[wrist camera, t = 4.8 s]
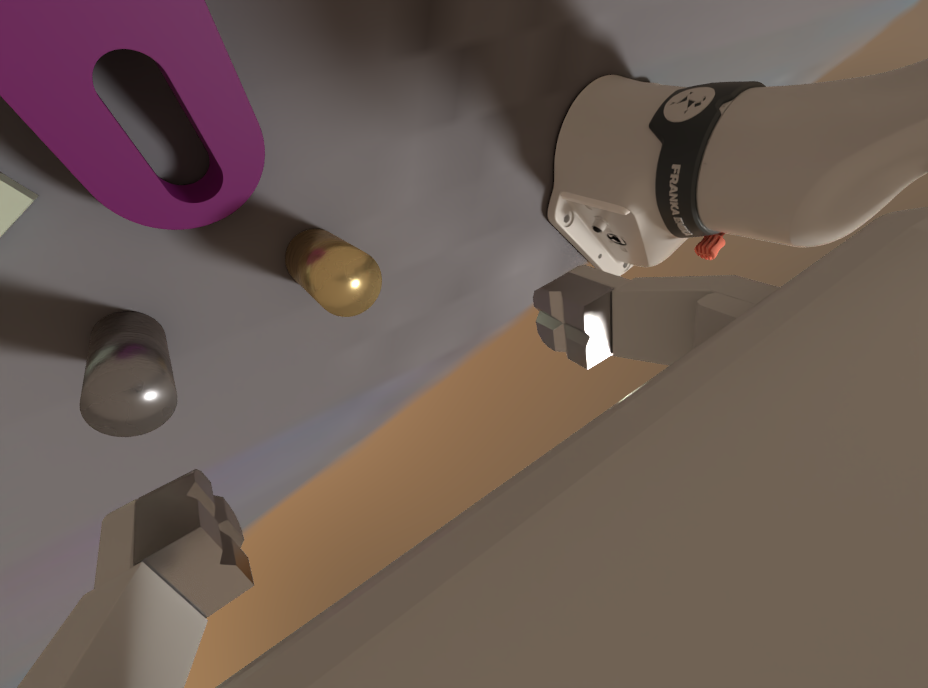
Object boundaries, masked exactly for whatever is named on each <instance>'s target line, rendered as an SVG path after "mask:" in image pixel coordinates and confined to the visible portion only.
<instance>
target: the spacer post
mask: <svg viewBox="0 0 928 688" xmlns="http://www.w3.org/2000/svg"><path fill="white" fill-rule="evenodd" d="M176 405H177V392H176V387H175V382H174V377H173V371H172V366H171V361H170V356H169V351H168V345H167V340H166V335H165V332H164V330H163V328H162V326H161V325H160V324H159V323H158V322H157V321H156V320H155V319H153V318H152V317H150V316H148V315H146V314H143V313H139V312H133V311H123V312H117V313H113V314H111V315H108V316H106V317H104V318H103V319H101V320H100V321H99V322H98V323H97V324H96V325H95V327H94V328H93V330H92V333H91V337H90V344H89V350H88V356H87V362H86V368H85V374H84V380H83V386H82V393H81V399H80V411H81V414H82V417H83V418H84V420H85V421H86V422H87V423H88V424H89V426H91V427H92V428H93V429H95V430H97V431H99V432H101V433H103V434H107V435H110V436H117V437H131V436H138V435H142V434H145V433H148V432H151V431H153V430H155V429H157V428H158V427H160V426H161V425H163V424H164V423H165V422H166V421H167V420H168V419H169V418H170V417H171V416H172V414H173V412H174V411H175V408H176Z"/></svg>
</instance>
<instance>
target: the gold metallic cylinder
mask: <svg viewBox="0 0 928 688" xmlns="http://www.w3.org/2000/svg"><path fill="white" fill-rule="evenodd" d="M285 262H286V267H287V270H288V272H289V273H290V275H291V276H292V277H293V279H294V280H295V281H296V282H297V283H298V284H300V285H301V286H302V287H303V288H304V289H305V290H306V291H307V292H308V293H309V294H310V295H311V296H312V297H313V298H314V299H315V300H316V301H317V302H318V303H319V304H320V305H321V306H322V307H323V308H324V309H326V310H327V311H328V312H330V313H332V314H334V315H337V316H342V317H350V316H355V315H358V314H360V313H362V312H364V311H366V310H367V309H368V308H369V307H371V306H372V304H373V303H374V302H375V301H376V299H377V297H378V295H379V293H380V290H381V285H382V276H381V271H380V269H379V266H378V264H377V263H376V261H375V260H374V259H373V258H372V257H371V256H370V255H368V254H367V253H365V252H363V251H361V250H360V249H358V248H356V247H354V246H353V245H351V244H349V243H347V242H346V241H344V240H342V239H340V238H339V237H337V236H335V235H333V234H331V233H330V232H328V231H325V230H322V229H309V230H305V231H303V232H301V233H299V234H298V235H296V236H295V237H294V238H293V239H292V241H291V242H290V243H289V245H288V247H287V250H286V255H285Z"/></svg>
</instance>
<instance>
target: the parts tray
mask: <svg viewBox="0 0 928 688" xmlns="http://www.w3.org/2000/svg"><path fill="white" fill-rule="evenodd" d="M38 196H39V195H37V194H35V193H34V192H32V191H30V190H29V189H27V188H25V187H24V186H22V185H21V184H19V183H17V182H16V181H14V180H12V179H11V178H9V177H7V176H6V175H4V174H3V173H1V172H0V237H1V236H2V235H3V234H4V233H5V232H6V231H7V230H8V229H9V227H10V226H11V225H12V224H13V223H14V222H15V221H16V220H17V219H18V218H19V217H20V216H21V215H22V213H23V212H24V211H25V210H26V209H27V208H28V207H29V206H30V205H31V204H32V203H33V202H34V200H35V199H36V198H37V197H38Z"/></svg>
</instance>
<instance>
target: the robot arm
mask: <svg viewBox="0 0 928 688" xmlns="http://www.w3.org/2000/svg"><path fill="white" fill-rule="evenodd" d="M926 173H928V59H925V60H923V61H920V62H917V63H914V64H912V65H908V66H905V67H902V68H899V69H896V70H892V71H888V72H884V73H880V74H876V75H870V76H865V77H858V78H851V79H844V80H837V81H830V82H822V83H812V84H801V85H789V86H773V87H766V86H765V85H763V84H762V83H760V82H754V81H749V82H718V83H709V84H703V85H697V86H692V87H679V86H669V85H660V84H658V83H646V82H641V81H636V80H632V79H628V78H625V77H622V76H619V75H606V76H603V77H600V78H598V79H596V80H595V81H593V82H592V83H590V84H589V85H588V86H587V87H586V88H585V89H584V90H583V91H582V92H581V93H580V94H579V95H578V97H577V98H576V99H575V101H574V102H573V104H572V105H571V107H570V109H569V111H568V113H567V115H566V117H565V119H564V122H563V124H562V127H561V130H560V133H559V137H558V141H557V146H556V152H555V163H554V188H553V192H552V195H551V199H550V203H549V207H548V219H549V221H550V223H551V224H552V225H553V226H554V227H555V228H556V229H557V230H558V231H559V232H560V233H561V234H562V235H563V236H564V237H565V238H566V239H567V240H568V241H569V242H570V243H571V244H572V245H573V246H574V247H575V248H576V249H577V250H578V251H579V252H580V253H581V254H582V255H583V256H584V257H585V258H586V259H587V260H588V261H589V262H590V263H591V264H592V265H593V266H594V267H595V268H596V269H595V268H592V267H589V266H586V265H581V266H577V267H576V268H574V269H572V270H570V271H569V272H567V273H565V274H564V275H562V276H561V277H559V278H557V279H555V280H553V281H552V282H550V283H548V284H546V285H544V286H542V287H541V288H539V289H537V290H535V291H534V295H533V302H534V307H535V308H536V309H538V310H539V314H538V317H537V320H536V324H537V330H538V333H539V335H540V337H541V339H542V341H543V342H544V343H545V344H546V345H547V346H548V347H549V348H551V349H552V350H554V351H559V352H566V353H567V357H568V359H570V360H572V361H573V362H575V363H577V364H579V365H580V366H582V367H584V368H586V369H589V368H591V367H592V366H594V365H596V364H597V363H599V362H601V361H602V360H604V359H606V358H607V357H609V356H611V355H612V354H613V356H617V357H623V358H628V359H634V360H640V361H646V362H652V363H657V364H663V365H669V366H668V367H667V368H666V369H664V370H663V371H661V372H660V373H659V374H657V375H656V376H654V377H653V378H651V379H650V380H649V381H647V382H646V383H644V384H643V385H642V386H640V387H639V388H637V389H636V390H635V391H633V392H632V393H631V394H629V395H628V396H626V397H625V398H623V399H622V400H620V401H619V402H618V403H616V404H615V405H613V406H612V407H611V408H610V409H608V410H607V411H605V412H604V413H602V414H601V415H599V416H598V417H597V418H595V419H594V420H592V421H591V422H589V423H588V424H587V425H585V426H584V427H582V428H581V429H580V430H578V431H577V432H575V433H574V434H572V435H571V436H570V437H568V438H567V439H566V440H564V441H563V442H561V443H560V444H558V445H557V446H556V447H554V448H553V449H551V450H550V451H548V452H547V453H546V454H544V455H543V456H542V457H540V458H539V459H537V460H536V461H534V462H533V463H531V464H530V465H529V466H527V467H526V468H524V469H523V470H522V471H520V472H519V473H517V474H516V475H515V476H513V477H512V478H511V479H509V480H507V481H506V482H505V483H503V484H502V485H501V486H499V487H498V488H496V489H495V490H493V491H492V492H491V493H489V494H488V495H486V496H485V497H484V498H482V499H481V500H479V501H478V502H476V503H475V504H474V505H472V506H471V507H469V508H468V509H467V510H465V511H464V512H463V513H461V514H460V515H458V516H457V517H455V518H454V519H453V520H451V521H450V522H448V523H447V524H445V525H444V526H443V527H441V528H440V529H439V530H437V531H436V532H434V533H433V534H432V535H430V536H429V537H427V538H426V539H424V540H423V541H422V542H420V543H419V544H417V545H416V546H415V547H413V548H412V549H410V550H409V551H408V552H406V553H405V554H404V555H402V556H401V557H399V558H398V559H396V560H395V561H393V562H392V563H391V564H389V565H388V566H386V567H385V568H384V569H382V570H381V571H379V572H378V573H377V574H375V575H374V576H372V577H371V578H370V579H368V580H367V581H365V582H364V583H363V584H361V585H360V586H358V587H357V588H356V589H354V590H353V591H351V592H350V593H349V594H347V595H346V596H344V597H343V598H342V599H340V600H339V601H337V602H336V603H334V604H333V605H332V606H330V607H329V608H328V609H326V610H325V611H323V612H322V613H320V614H319V615H317V616H316V617H315V618H313V619H312V620H310V621H309V622H308V623H306V624H305V625H303V626H302V627H300V628H299V629H298V630H296V631H295V632H294V633H292V634H290V635H289V636H288V637H286V638H285V639H283V640H282V641H281V642H279V643H278V644H277V645H275V646H273V647H272V648H271V649H269V650H268V651H266V652H265V653H264V654H262V655H261V656H259V657H258V658H257V659H255V660H254V661H252V662H251V663H250V664H248V665H247V666H245V667H244V668H242V669H241V670H239V671H238V672H237V673H235V674H234V675H232V676H231V677H230V678H228V679H227V680H225V681H224V682H223V683H222V684H220V685H218V686H217V687H216V688H928V207H923V208H916V209H909V210H902V211H897V212H892V213H888V214H885V215H883V216H881V217H879V218H877V219H875V220H873V221H872V222H871V223H869V224H868V225H867V226H865V227H864V228H863V229H861V230H860V231H859V232H857V233H856V234H854V235H853V236H852V237H850V238H849V239H847V240H846V241H845V242H843V243H842V244H840V245H839V246H838V247H836V248H835V249H833V250H832V251H830V252H829V253H828V254H826V255H825V256H823V257H822V258H821V259H820V260H818V261H816V262H815V263H814V264H812V265H811V266H810V267H808V268H807V269H805V270H804V271H802V272H801V273H800V274H798V275H797V276H795V277H794V278H792V279H791V280H790V281H788V282H787V283H786V284H784V285H783V286H781V287H777V286H773V285H770V284H766V283H762V282H758V281H755V280H751V279H747V278H743V277H740V276H736V275H725V276H689V277H688V276H686V277H646V278H634V279H632V280H629V279H626V278H623V277H620V275H622V274H623V273H625V272H626V271H627V270H629V269H630V268H631V267H632V266H633V265H636V266H641V267H651V266H655V265H657V264H659V263H661V262H662V261H664V260H665V259H666V258H668V257H669V256H670V255H671V254H672V253H673V252H674V251H675V250H676V249H677V248H678V247H679V246H680V245H681V244H682V243H684V242H685V240H687V239H688V238H689V237H699V236H704V238H703V240H702V241H701V242H700V243H698V245H697V246H696V247H695V252H696V254H697V255H698V256H699V255H700V257H701V258H705V259H706V260H707V259H709V260H711V259H714V258H715V257H716V255H717V254H718V251H719V249H720V248H721V247H723V246H724V245H725V240H724V238H723V235H724V234H725V233H728V234H733V235H738V236H743V237H748V238H753V239H759V240H764V241H769V242H774V243H779V244H784V245H789V246H795V247H813V246H819V245H824V244H828V243H831V242H833V241H836V240H838V239H840V238H842V237H844V236H846V235H848V234H850V233H851V232H853V231H854V230H856V229H857V228H859V227H860V226H861V225H863V224H864V223H865V222H866V221H868V220H869V219H870V218H871V217H873V216H874V215H875V214H876V213H877V212H879V210H881V209H882V208H883V207H884V206H885V205H886V204H887V203H889V202H890V201H891V200H892V199H893V198H894V197H895V196H896V195H897V194H898V193H899V192H901V191H902V190H903V189H904V188H905V187H907V186H908V185H909V184H910V183H912V182H913V181H914V180H916V179H918V178H919V177H921V176H922V175H924V174H926ZM564 217H565V218H564ZM243 541H244V537H243V533H242V529H241V527H240V524H239V522H238V520H237V517H236V515H235V514H234V512H233V510H232V509H231V507H230V506H229V504H228V503H227V502H226V500H225V499H224V498H223V497H220V496H215V495H213V491H212V485H211V482H210V481H209V480H208V478H207V477H206V476H205V475H204V474H203V473H202V471H200V470H197V469H195V470H193V471H191V472H189V473H187V474H185V475H183V476H181V477H179V478H177V479H175V480H173V481H171V482H169V483H167V484H165V485H163V486H161V487H159V488H157V489H155V490H153V491H151V492H149V493H147V494H145V495H143V496H141V497H139V498H138V499H136V500H133V501H132V502H130V503H128V504H126V505H124V506H122V507H120V508H118V509H116V510H115V511H113V512H111V513H109V514H107V515H106V517H105V518H104V519H103V521H102V527H101V535H100V543H99V552H98V560H97V568H96V576H95V585H94V589H93V590H92V591H90V592H88V593H87V594H85V595H83V597H82V598H81V600H80V601H79V602H78V604H77V605H76V606H75V608H74V609H73V611H72V612H71V613H70V615H69V616H68V618H67V619H66V620H65V622H64V623H63V625H62V626H61V627H60V629H59V630H58V632H57V633H56V634H55V636H54V637H53V638H52V640H51V641H50V643H49V644H48V645H47V647H46V648H45V650H44V651H43V652H42V654H41V655H40V657H39V658H38V659H37V661H36V662H35V663H34V665H33V666H32V668H31V669H30V670H29V672H28V673H27V675H26V676H25V677H24V679H23V680H22V682H21V683H20V684H19V686H18V687H17V688H184V686H185V683H186V680H187V677H188V674H189V672H190V669H191V666H192V663H193V660H194V657H195V655H196V652H197V649H198V646H199V643H200V641H201V638H202V635H203V632H204V629H205V626H206V624H207V621H208V620H207V619H206V618H207V617H209V616H210V615H212V614H213V613H214V612H216V611H217V610H219V609H220V608H222V607H223V606H225V605H226V604H228V603H229V602H231V601H232V600H234V599H235V598H237V597H238V596H240V595H241V594H242V593H244V592H245V591H247V590H248V589H250V588H251V587H253V586H254V582H253V577H252V573H251V568H250V564H249V560H248V557H247V556H246V554H245V553H244V552H243V551H242V550H241V549H240V548H241V545H242V543H243Z"/></svg>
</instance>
